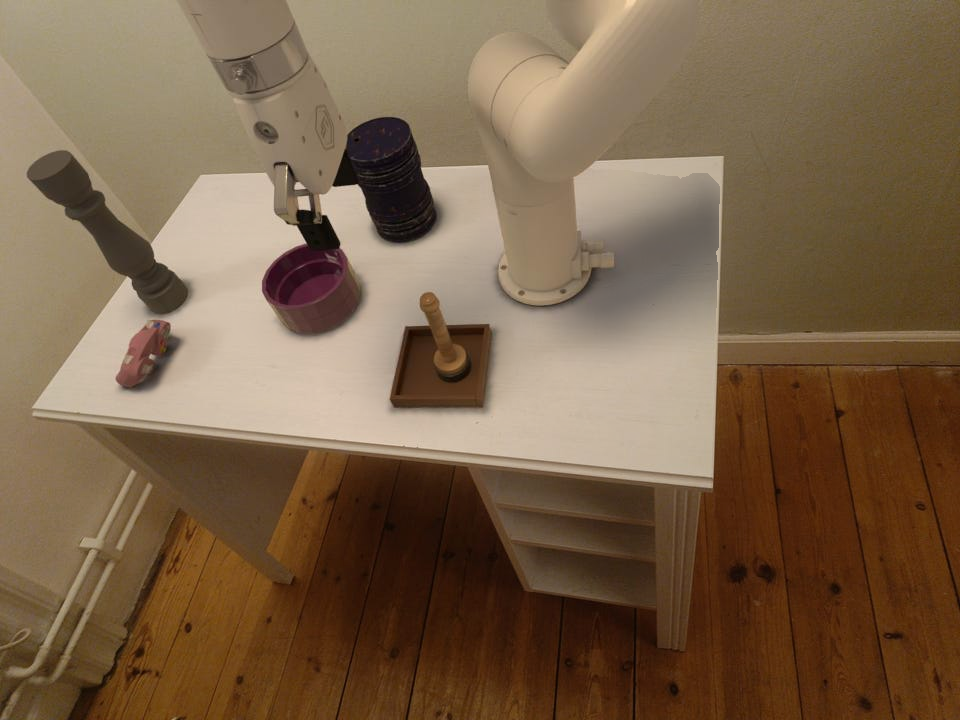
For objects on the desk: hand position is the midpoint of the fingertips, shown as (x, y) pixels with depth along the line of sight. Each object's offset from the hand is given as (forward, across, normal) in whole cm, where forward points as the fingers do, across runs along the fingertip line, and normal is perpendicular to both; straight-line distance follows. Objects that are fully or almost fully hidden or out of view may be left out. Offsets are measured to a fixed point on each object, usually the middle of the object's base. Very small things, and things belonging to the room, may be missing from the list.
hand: (336, 214), depth 64 cm
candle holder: (+22, +10, +38) cm, 45 cm away
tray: (+22, -5, -7) cm, 24 cm away
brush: (+21, -5, -8) cm, 24 cm away
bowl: (+22, +7, +13) cm, 26 cm away
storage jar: (+22, +23, +2) cm, 32 cm away
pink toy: (+22, -2, +36) cm, 42 cm away
